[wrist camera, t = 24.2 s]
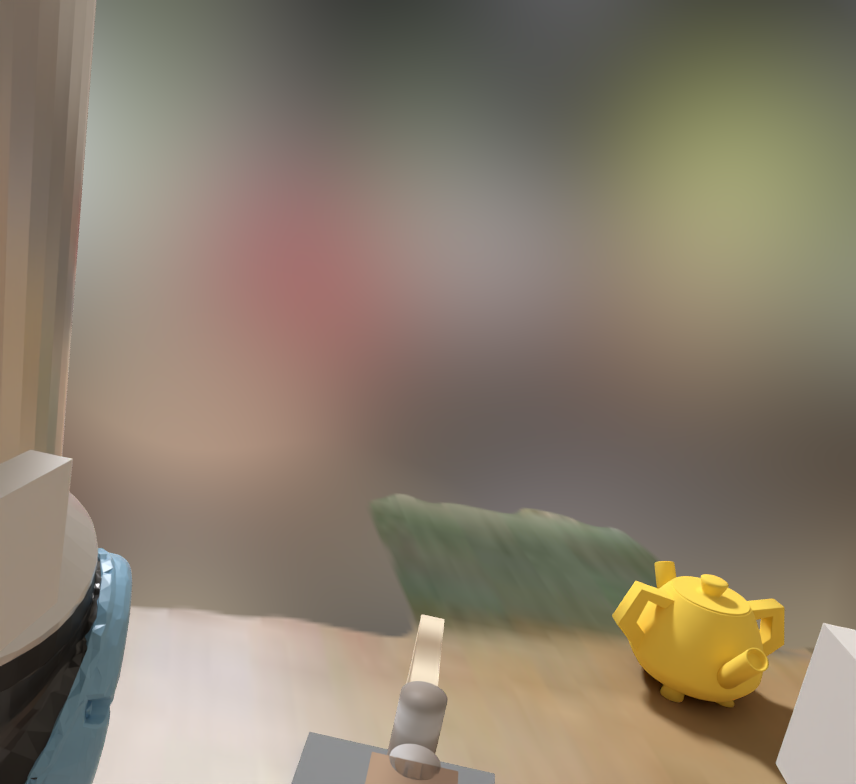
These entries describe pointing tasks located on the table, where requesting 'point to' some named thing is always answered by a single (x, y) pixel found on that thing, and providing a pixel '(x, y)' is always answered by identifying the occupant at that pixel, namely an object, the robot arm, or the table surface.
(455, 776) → the brown rectangular block
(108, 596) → the robot arm
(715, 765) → the table surface
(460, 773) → the mat
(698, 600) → the teapot
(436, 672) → the birch hinge leaf
